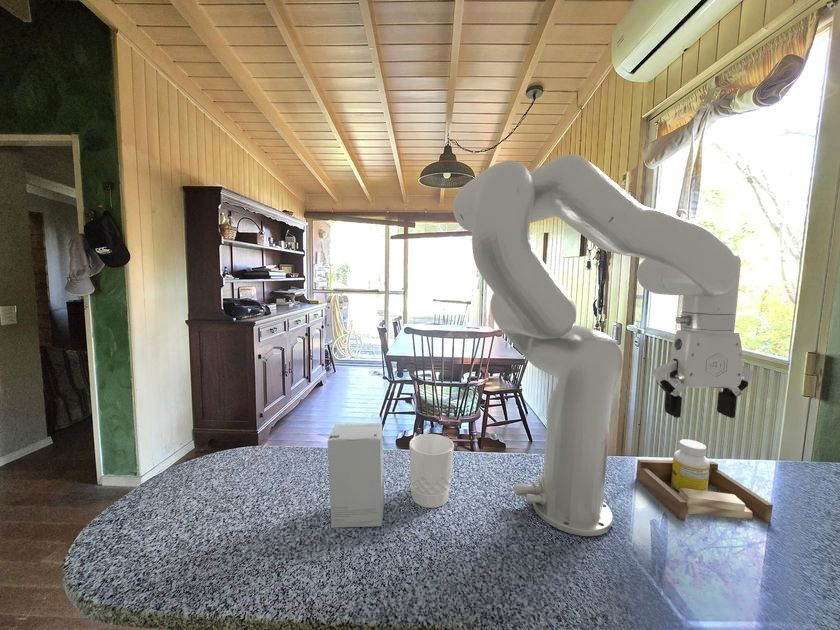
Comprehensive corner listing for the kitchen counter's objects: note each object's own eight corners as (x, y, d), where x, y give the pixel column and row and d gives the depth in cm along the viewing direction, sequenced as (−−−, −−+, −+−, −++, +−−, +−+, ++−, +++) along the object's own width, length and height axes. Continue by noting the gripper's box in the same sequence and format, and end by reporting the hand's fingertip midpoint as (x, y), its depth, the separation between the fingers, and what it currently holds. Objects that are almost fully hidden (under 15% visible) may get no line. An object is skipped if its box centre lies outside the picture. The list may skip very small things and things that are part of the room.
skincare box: (384, 505, 61) (385, 422, 60) (381, 529, 55) (383, 438, 54) (335, 505, 61) (335, 421, 59) (327, 529, 55) (327, 437, 53)
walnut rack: (678, 522, 59) (681, 496, 58) (635, 480, 71) (637, 459, 70) (770, 524, 59) (773, 499, 58) (711, 483, 71) (714, 461, 70)
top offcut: (687, 504, 61) (688, 496, 61) (679, 494, 64) (680, 487, 64) (744, 511, 59) (745, 504, 59) (733, 501, 62) (734, 494, 62)
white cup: (449, 514, 59) (451, 457, 58) (403, 506, 61) (404, 451, 60) (454, 487, 67) (456, 436, 66) (413, 481, 69) (414, 431, 68)
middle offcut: (687, 513, 60) (688, 506, 60) (676, 502, 63) (677, 495, 63) (751, 519, 59) (752, 512, 59) (737, 507, 62) (738, 501, 62)
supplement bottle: (673, 482, 71) (678, 434, 70) (708, 494, 67) (714, 444, 66) (667, 493, 67) (672, 443, 66) (703, 506, 63) (709, 454, 62)
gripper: (672, 325, 60) (665, 423, 62) (776, 325, 60) (765, 423, 62) (645, 320, 67) (639, 407, 69) (737, 320, 67) (728, 407, 69)
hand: (698, 414), depth 65 cm, fingers open, 9 cm apart
